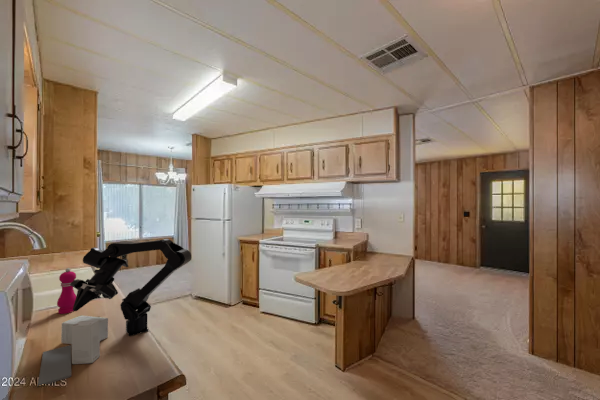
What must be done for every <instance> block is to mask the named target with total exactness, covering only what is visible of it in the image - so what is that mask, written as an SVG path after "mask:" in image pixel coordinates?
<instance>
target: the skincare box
mask: <svg viewBox="0 0 600 400" xmlns="http://www.w3.org/2000/svg"><path fill="white" fill-rule="evenodd" d="M71 341H72V344H71V365H81V364H82V365H83V364H92V363H93V364H94V362H95V361H97V359H99V358H100V356H101V352H100V351H101V348H100V347H101V345H100V344H101V343H100V342H101V341H100V340H99V320H90V321H79V322H77V323H76V324H74V325H73V326H71Z"/></svg>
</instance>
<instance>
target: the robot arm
mask: <svg viewBox="0 0 600 400" xmlns="http://www.w3.org/2000/svg"><path fill="white" fill-rule="evenodd" d="M151 251H160V252H161V253H162V255H164V257H165V258H166V259H167V260H166V262H165V264H164V266H163V267H162V268H161V269H160V270H159V271H158V272H156V274H155V275H153V277H152V278H151V279H150V280H149V281H147V282H146V284H144V285H143V286H142V287H141V288H136V289H134V290H132V291H130V292H129V293H128V294H127V295H126V296H125V297H124V298H122V299H121V301H122V302H121V303H120V310H121V313H122V315H123V318H124V320H125V332H126V334H128V336H129V337H132V336H136V335H139V334H142V333H146V332H149V328H148V312H150V310H151V309H152V306H151V304H150V303H149V302H148V299H149V298H150V295H151V294H152V293H153V292H155V291H156V290H157V289H158V288H159V287H160V286H161V284H163V283H164V282H165V281H166V280H167V279H168V278H170V276H171V275H172V274H173V273H175V272H176V271H177V270H179V269H180V268H182V267H184V266H185V265H187V264H188V263H189V262H190V261H191V260H192V253H191V252H190V251H189V249H185V248H183V246H181V245H179V244H177V243H175V242H174V241H172V239H169V238H163V239H157V240H148V241H140V242H139V241H138V242H134V241H127V240H126V241H125V240H122V241H118V242H112V243H110V244H108V245H107V248H106V249H104V250H103V249H100V248H98V247H91V248H90V250H89V251H87V253H86V254H85V255H84V256H83V258H82V263H83V264H85V265H88V266H90V267H93V268H96V269H95V270H94V271H93V273H95V274H93V275H92V277H91V278H87V279H85V280H84V279H78V278H77V279H75V280H73V282H72V283H71V284H70V285H71V286H72V287H73V289H76V290H77V292H76V300H75V303H74V306H73V312H77V311H79V310H80V309H82V308H83V307H84V306H86V304H88V303H89V302H91V301H93V300H97V299H101V298H103V299H109V300H112V299H113V298H114V297H115V296H117V295H118V294H119V292H118V290H117V288H116V286H115V285H114V281H115V275H116V274H117V273H119V270H120V269H121V268H122V267H125V268H128V267H129V263H128V262H129V260H128V259H127V258H120V257H123V256H127V255H129V254H133V253H141V252H142V253H144V252H151ZM101 296H102V297H101ZM147 328H148V329H147Z"/></svg>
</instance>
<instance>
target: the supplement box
mask: <svg viewBox="0 0 600 400" xmlns="http://www.w3.org/2000/svg"><path fill="white" fill-rule="evenodd" d="M90 320H99V340H100V342H101V341H104V340H106V339H107V338H108V336H109V318H108V317H101V316H91V315H90V316H89V315H79V316H76V317H74V318H71V319H68V320H66V321H62V322H61V337H60V339H61V341H60V342H61V344H68V345H72V341H71V326H73V325H74V324H76V323H77V322H79V321H90Z"/></svg>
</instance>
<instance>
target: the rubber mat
mask: <svg viewBox="0 0 600 400" xmlns="http://www.w3.org/2000/svg"><path fill="white" fill-rule="evenodd" d="M68 378H72V344H68V345H66V346H62V347H61V346H60V347H58V348H53V349H49V350H45V351H43V352H42V358H41V364H40V369H39V376H38V380H37V381H38V382H37V387H38V386H39V385H42V384H46V385H49V384H51V383H52V384H53V383H55V382H59V381H63V380H65V379H68Z"/></svg>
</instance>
